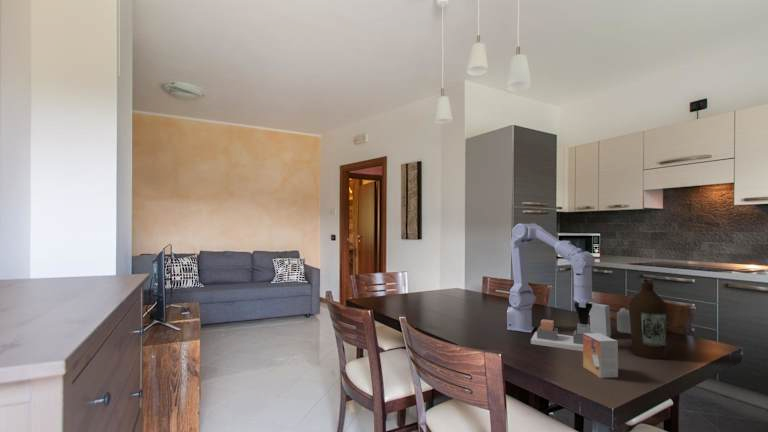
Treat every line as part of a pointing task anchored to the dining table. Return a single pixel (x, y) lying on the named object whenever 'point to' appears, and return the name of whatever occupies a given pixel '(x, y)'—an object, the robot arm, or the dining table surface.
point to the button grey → (583, 329)
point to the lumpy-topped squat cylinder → (623, 321)
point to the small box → (600, 355)
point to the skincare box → (600, 319)
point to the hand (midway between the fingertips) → (583, 324)
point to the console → (558, 339)
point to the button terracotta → (547, 325)
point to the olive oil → (648, 322)
